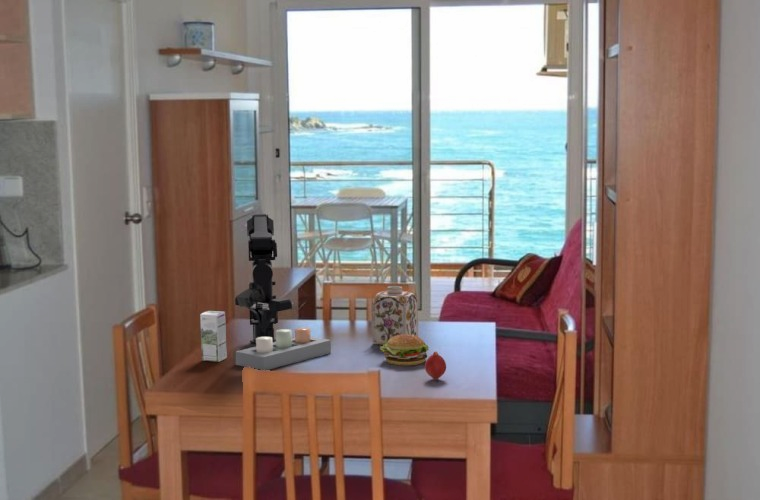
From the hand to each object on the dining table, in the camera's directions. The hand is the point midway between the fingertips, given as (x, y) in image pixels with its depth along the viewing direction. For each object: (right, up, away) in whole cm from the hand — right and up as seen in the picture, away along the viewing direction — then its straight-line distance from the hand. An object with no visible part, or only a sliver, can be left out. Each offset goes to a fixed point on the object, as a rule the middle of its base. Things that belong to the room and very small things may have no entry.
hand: (264, 331), depth 300 cm
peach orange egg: (+10, -7, +13) cm, 18 cm away
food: (+41, -9, +2) cm, 42 cm away
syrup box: (-16, -9, +8) cm, 20 cm away
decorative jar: (+39, -6, +28) cm, 49 cm away
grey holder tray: (+5, -9, +7) cm, 13 cm away
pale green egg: (+5, -7, +7) cm, 11 cm away
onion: (+49, -12, -19) cm, 54 cm away
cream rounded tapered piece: (0, -9, +1) cm, 9 cm away
